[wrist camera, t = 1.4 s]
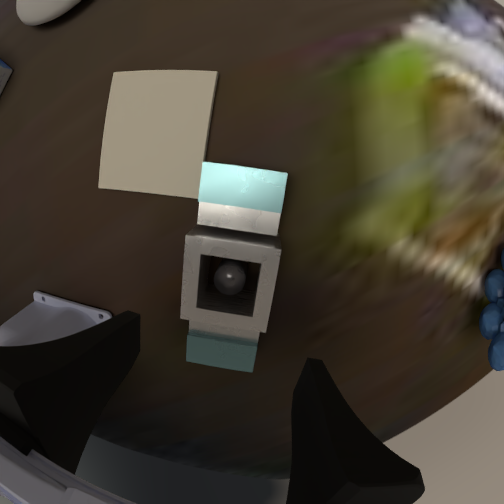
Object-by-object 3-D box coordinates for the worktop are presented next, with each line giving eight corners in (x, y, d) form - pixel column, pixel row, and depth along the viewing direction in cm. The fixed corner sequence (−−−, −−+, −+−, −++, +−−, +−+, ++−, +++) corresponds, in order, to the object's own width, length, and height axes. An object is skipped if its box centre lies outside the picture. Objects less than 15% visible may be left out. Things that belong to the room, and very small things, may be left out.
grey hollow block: (194, 293, 23) (180, 318, 19) (200, 221, 21) (185, 235, 17) (266, 305, 23) (265, 332, 19) (279, 233, 21) (281, 249, 17)
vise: (194, 339, 24) (186, 361, 21) (211, 161, 20) (202, 161, 17) (254, 349, 24) (252, 372, 21) (284, 172, 20) (287, 173, 17)
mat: (102, 187, 21) (98, 187, 20) (117, 74, 18) (114, 72, 18) (200, 197, 21) (198, 198, 20) (218, 73, 18) (217, 71, 17)
